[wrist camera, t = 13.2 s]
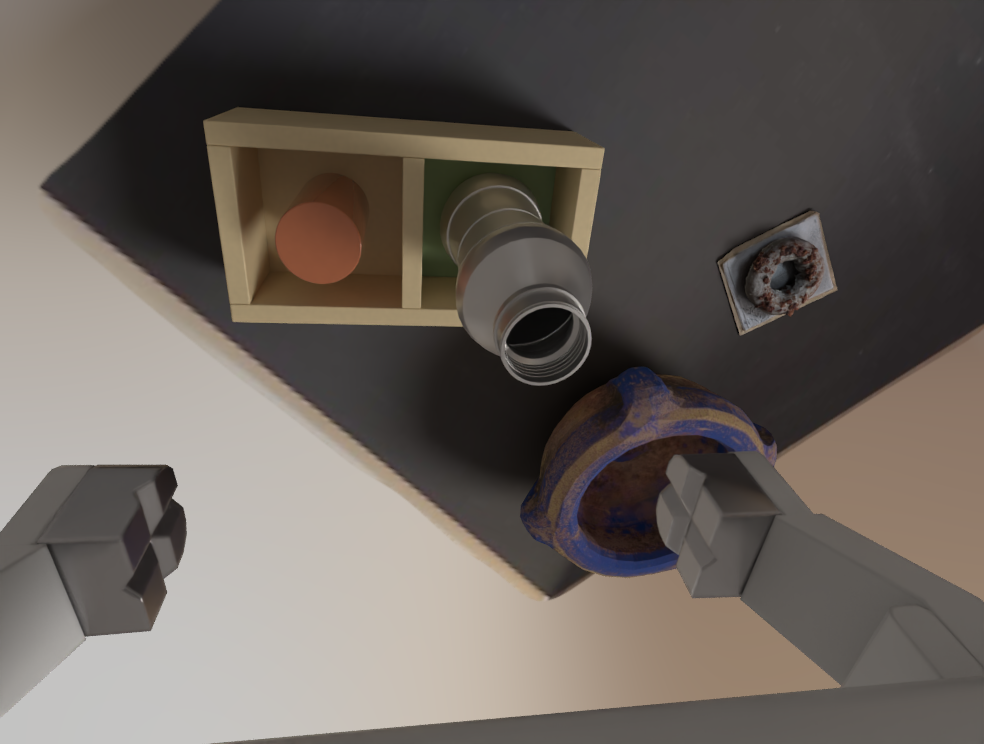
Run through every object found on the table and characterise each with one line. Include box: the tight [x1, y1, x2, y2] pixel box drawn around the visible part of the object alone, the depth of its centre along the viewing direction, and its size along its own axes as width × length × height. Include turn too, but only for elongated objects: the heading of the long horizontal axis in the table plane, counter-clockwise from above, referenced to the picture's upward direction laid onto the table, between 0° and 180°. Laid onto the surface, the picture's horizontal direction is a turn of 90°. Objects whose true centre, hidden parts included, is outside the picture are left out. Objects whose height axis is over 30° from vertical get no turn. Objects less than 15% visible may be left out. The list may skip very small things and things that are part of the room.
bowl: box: [520, 366, 777, 578], centre depth 48 cm, size 18×18×10 cm
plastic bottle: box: [440, 173, 592, 386], centre depth 32 cm, size 6×7×20 cm
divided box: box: [203, 107, 604, 327], centre depth 37 cm, size 11×22×7 cm, turn 85°
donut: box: [718, 211, 837, 336], centre depth 46 cm, size 8×8×2 cm
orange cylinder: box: [275, 173, 370, 284], centre depth 35 cm, size 5×5×8 cm
